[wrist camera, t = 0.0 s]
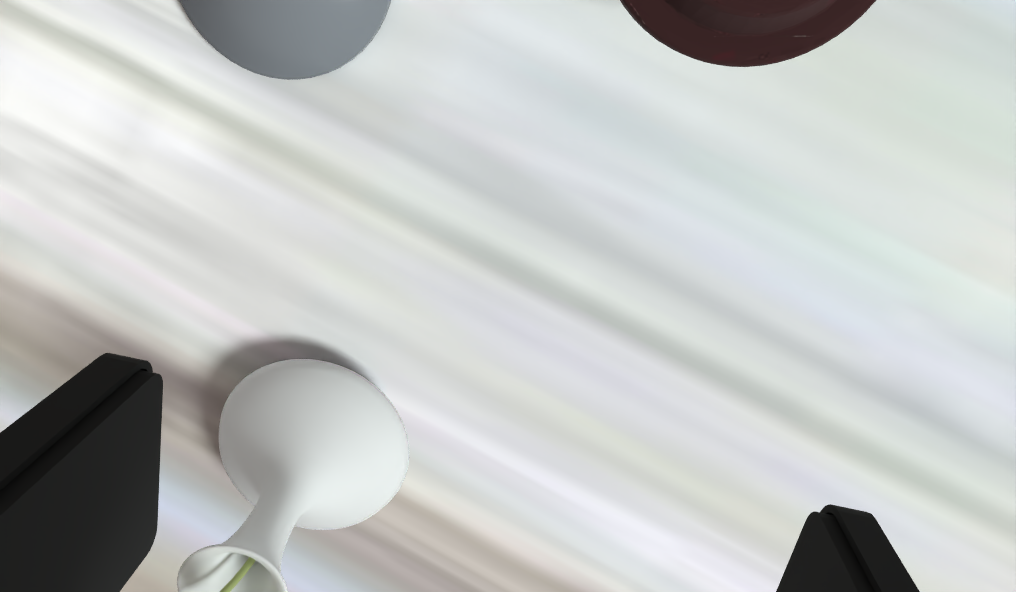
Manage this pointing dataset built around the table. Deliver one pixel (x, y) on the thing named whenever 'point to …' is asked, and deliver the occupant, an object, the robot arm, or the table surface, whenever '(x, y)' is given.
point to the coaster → (288, 32)
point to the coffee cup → (745, 27)
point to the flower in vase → (298, 466)
